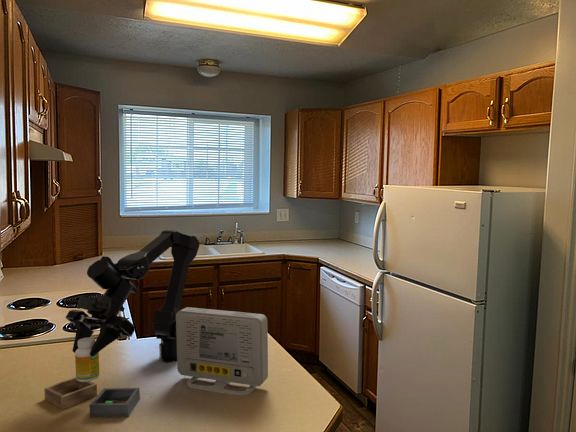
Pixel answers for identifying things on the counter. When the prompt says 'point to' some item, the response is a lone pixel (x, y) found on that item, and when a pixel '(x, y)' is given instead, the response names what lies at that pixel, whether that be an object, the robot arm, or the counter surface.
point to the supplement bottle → (86, 361)
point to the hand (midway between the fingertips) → (82, 353)
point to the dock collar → (107, 408)
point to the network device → (222, 348)
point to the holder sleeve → (65, 401)
